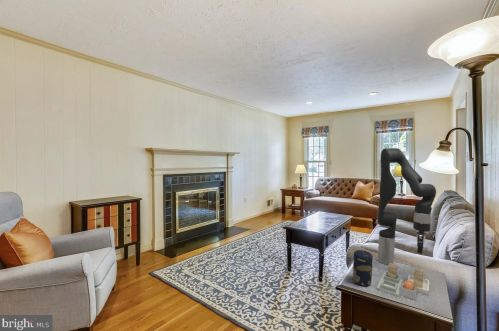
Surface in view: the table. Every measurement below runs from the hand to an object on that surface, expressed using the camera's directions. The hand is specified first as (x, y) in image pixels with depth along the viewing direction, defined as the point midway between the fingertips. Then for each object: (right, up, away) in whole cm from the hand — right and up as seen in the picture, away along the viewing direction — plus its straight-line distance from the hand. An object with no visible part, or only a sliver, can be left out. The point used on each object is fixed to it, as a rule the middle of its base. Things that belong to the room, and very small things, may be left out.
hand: (420, 250), depth 132 cm
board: (-15, -20, +2) cm, 25 cm away
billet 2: (0, -19, +1) cm, 19 cm away
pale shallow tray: (0, -20, +1) cm, 20 cm away
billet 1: (-11, -18, +6) cm, 22 cm away
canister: (-29, -19, +5) cm, 36 cm away
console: (-10, -20, -6) cm, 24 cm away
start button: (-10, -20, -6) cm, 23 cm away
